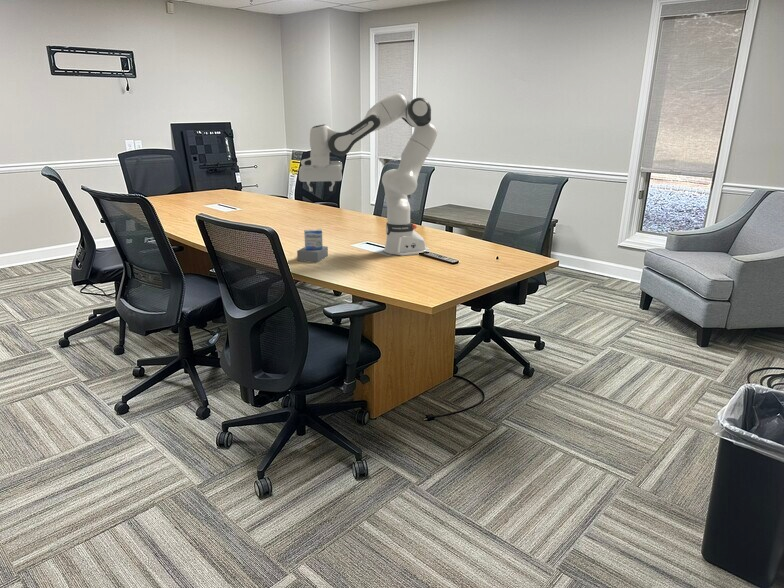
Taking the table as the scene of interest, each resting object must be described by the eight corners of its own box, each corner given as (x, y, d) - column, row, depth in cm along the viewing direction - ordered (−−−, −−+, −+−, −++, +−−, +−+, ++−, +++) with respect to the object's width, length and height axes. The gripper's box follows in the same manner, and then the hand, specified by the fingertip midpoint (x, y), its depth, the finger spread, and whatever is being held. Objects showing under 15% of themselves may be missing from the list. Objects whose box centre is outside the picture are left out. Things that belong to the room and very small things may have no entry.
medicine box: (305, 250, 250) (304, 231, 247) (304, 247, 254) (304, 229, 251) (322, 249, 251) (322, 230, 249) (321, 247, 255) (321, 228, 253)
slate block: (328, 256, 258) (327, 246, 257) (317, 263, 247) (317, 252, 246) (308, 255, 261) (308, 245, 259) (297, 261, 250) (297, 250, 248)
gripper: (341, 160, 259) (342, 189, 264) (297, 160, 255) (299, 190, 259) (343, 161, 253) (343, 191, 258) (298, 161, 249) (299, 192, 254)
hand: (321, 191), depth 259 cm, fingers open, 8 cm apart
